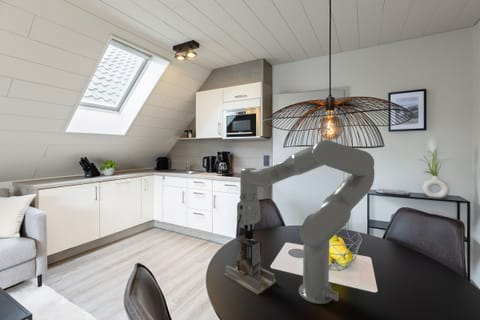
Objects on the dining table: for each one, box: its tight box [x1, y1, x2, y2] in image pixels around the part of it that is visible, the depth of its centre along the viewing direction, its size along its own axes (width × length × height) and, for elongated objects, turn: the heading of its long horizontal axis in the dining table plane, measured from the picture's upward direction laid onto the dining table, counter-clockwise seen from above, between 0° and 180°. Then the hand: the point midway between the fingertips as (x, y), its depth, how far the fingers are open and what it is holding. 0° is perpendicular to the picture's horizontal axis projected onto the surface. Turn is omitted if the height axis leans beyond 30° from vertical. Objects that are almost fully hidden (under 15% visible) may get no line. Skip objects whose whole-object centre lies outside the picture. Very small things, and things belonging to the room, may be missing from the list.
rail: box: [223, 264, 277, 295], centre depth 104 cm, size 12×20×5 cm, turn 45°
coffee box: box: [236, 236, 262, 280], centre depth 104 cm, size 9×6×16 cm
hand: (248, 238), depth 104 cm, fingers closed
